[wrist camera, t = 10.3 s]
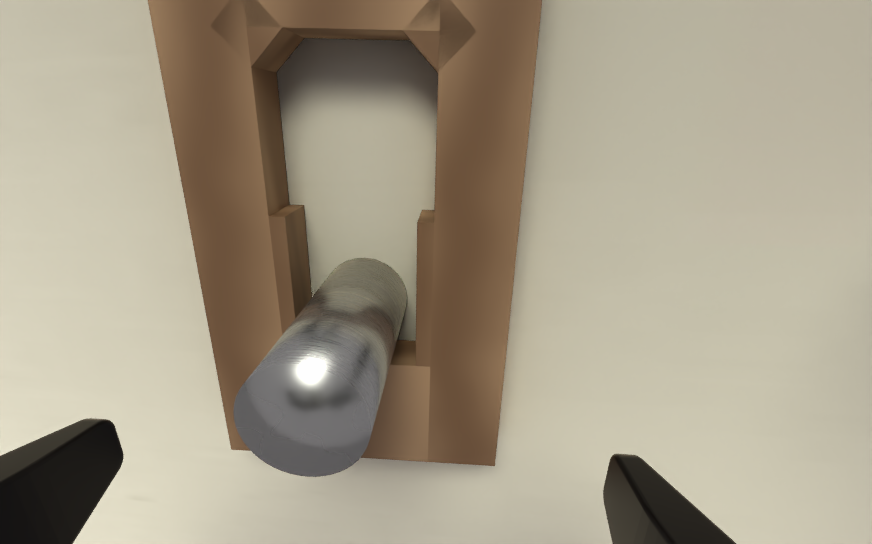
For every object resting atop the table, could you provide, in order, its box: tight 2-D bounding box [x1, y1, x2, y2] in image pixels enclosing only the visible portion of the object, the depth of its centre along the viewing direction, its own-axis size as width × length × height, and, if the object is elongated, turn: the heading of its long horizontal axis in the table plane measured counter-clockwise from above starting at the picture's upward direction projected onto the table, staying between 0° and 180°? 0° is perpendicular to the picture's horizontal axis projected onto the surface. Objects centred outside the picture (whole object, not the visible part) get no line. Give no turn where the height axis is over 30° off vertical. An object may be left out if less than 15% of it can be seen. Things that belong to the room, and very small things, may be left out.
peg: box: [233, 258, 407, 477], centre depth 15 cm, size 4×4×8 cm
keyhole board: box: [148, 0, 542, 466], centre depth 16 cm, size 12×20×2 cm, turn 178°
